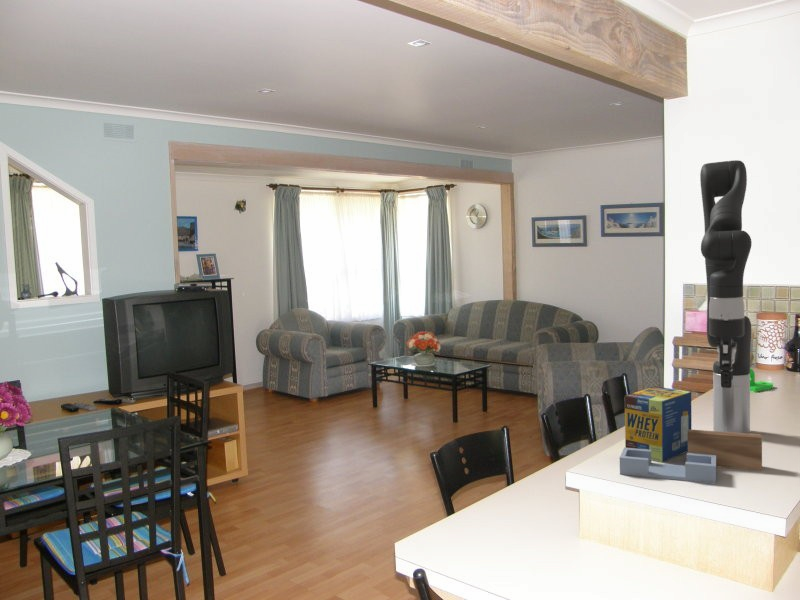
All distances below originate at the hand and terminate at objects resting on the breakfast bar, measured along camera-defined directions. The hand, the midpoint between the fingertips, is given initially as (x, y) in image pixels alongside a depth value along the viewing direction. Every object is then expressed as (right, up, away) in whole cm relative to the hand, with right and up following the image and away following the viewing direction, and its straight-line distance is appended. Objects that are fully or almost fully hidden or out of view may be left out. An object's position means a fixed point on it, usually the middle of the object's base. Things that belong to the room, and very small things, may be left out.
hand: (727, 383), depth 161 cm
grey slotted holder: (-15, -21, -1) cm, 26 cm away
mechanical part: (+51, -13, +82) cm, 97 cm away
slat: (+1, -20, +2) cm, 20 cm away
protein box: (-10, -20, +15) cm, 27 cm away
